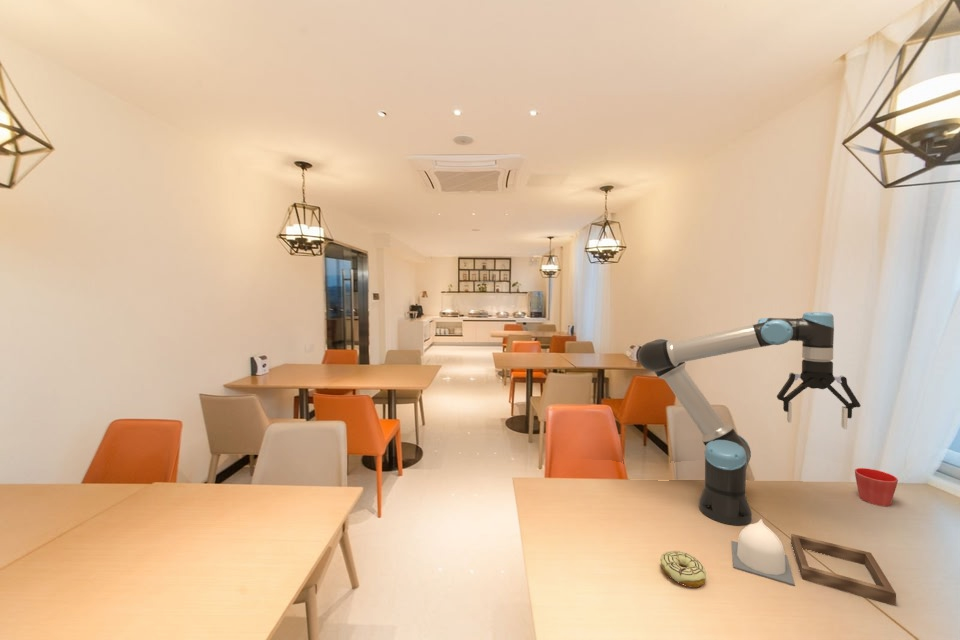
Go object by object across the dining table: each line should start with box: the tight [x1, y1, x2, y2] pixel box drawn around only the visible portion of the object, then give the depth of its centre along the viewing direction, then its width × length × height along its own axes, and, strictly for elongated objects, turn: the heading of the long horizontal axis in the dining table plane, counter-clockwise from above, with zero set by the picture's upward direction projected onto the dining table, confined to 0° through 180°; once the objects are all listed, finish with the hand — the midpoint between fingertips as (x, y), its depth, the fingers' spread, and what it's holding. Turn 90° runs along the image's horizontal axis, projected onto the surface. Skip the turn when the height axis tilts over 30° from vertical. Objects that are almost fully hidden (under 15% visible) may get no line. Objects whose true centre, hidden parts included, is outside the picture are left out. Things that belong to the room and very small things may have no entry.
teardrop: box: [737, 518, 786, 575], centre depth 104 cm, size 11×11×12 cm
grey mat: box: [731, 540, 796, 587], centre depth 105 cm, size 13×13×1 cm
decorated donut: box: [660, 550, 707, 588], centre depth 100 cm, size 10×11×4 cm
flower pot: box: [854, 467, 899, 507], centre depth 135 cm, size 11×11×10 cm
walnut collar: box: [790, 533, 897, 607], centre depth 101 cm, size 17×17×3 cm
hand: (815, 424), depth 123 cm, fingers open, 13 cm apart
